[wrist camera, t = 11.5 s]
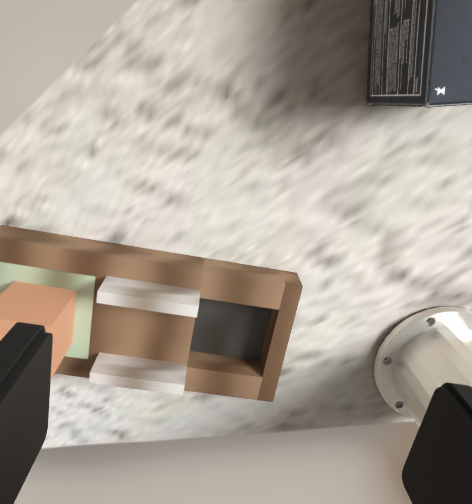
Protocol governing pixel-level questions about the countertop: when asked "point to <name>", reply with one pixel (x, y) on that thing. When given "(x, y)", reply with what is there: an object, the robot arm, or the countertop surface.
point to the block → (40, 313)
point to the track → (161, 314)
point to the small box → (420, 53)
